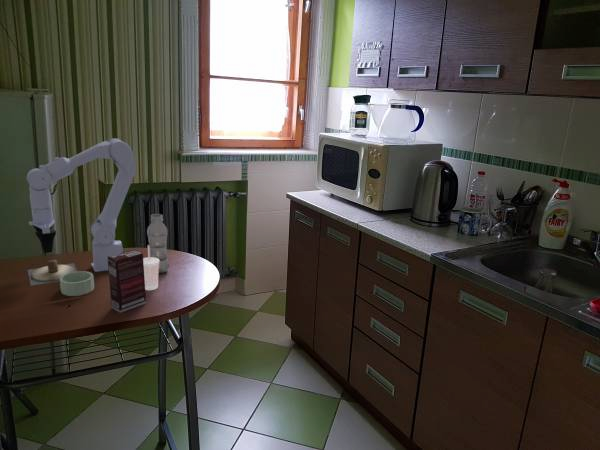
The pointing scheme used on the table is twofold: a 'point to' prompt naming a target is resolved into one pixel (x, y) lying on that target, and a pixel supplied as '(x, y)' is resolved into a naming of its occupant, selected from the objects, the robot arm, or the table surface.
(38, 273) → the board
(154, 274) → the beverage cup
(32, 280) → the mat
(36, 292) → the table surface
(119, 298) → the supplement box
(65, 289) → the bowl
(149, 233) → the plastic bottle
